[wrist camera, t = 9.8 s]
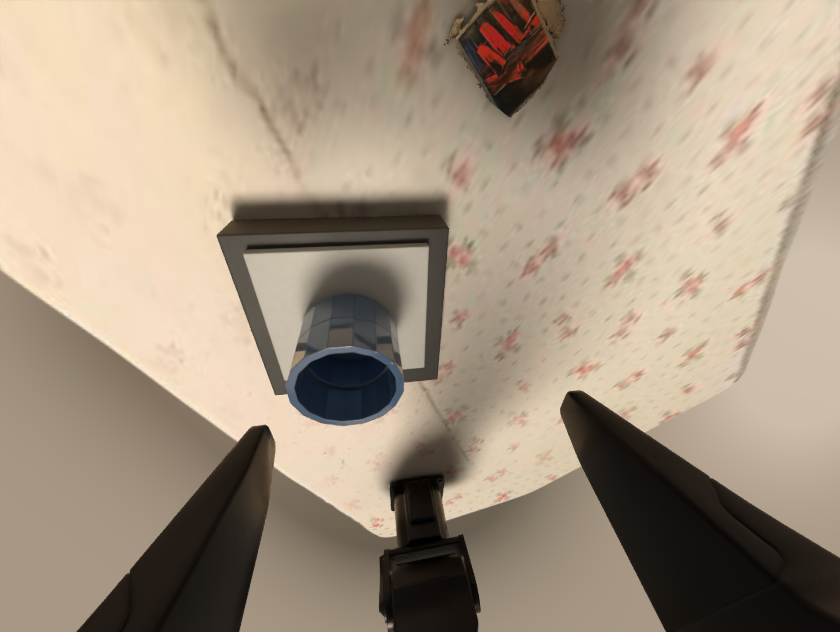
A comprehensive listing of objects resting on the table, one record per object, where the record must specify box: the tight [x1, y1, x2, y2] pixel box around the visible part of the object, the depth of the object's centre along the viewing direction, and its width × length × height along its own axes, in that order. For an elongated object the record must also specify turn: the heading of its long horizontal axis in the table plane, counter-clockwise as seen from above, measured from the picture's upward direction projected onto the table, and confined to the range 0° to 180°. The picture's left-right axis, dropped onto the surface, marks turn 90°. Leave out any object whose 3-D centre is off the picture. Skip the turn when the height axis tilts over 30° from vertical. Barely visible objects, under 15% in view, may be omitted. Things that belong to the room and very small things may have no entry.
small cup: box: [286, 294, 404, 426], centre depth 17 cm, size 6×6×5 cm
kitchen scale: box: [217, 215, 449, 395], centre depth 20 cm, size 12×12×3 cm
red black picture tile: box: [444, 0, 566, 117], centre depth 14 cm, size 5×5×1 cm
